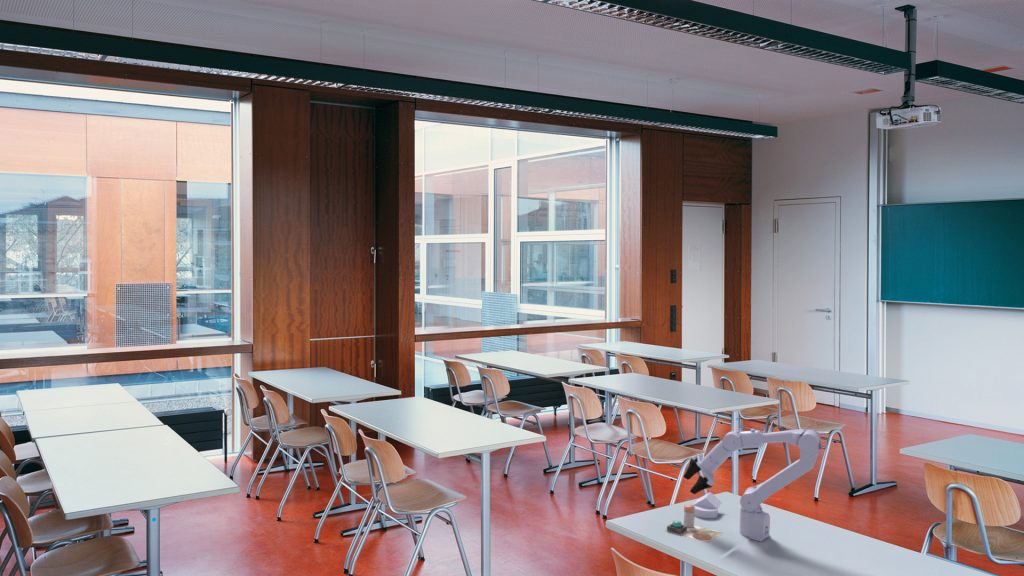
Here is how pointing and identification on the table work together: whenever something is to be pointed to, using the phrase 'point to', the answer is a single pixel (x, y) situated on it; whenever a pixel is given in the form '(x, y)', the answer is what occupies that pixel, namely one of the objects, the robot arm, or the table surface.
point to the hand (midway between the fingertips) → (689, 485)
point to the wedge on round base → (707, 506)
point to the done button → (677, 524)
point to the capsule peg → (689, 515)
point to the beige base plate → (694, 532)
